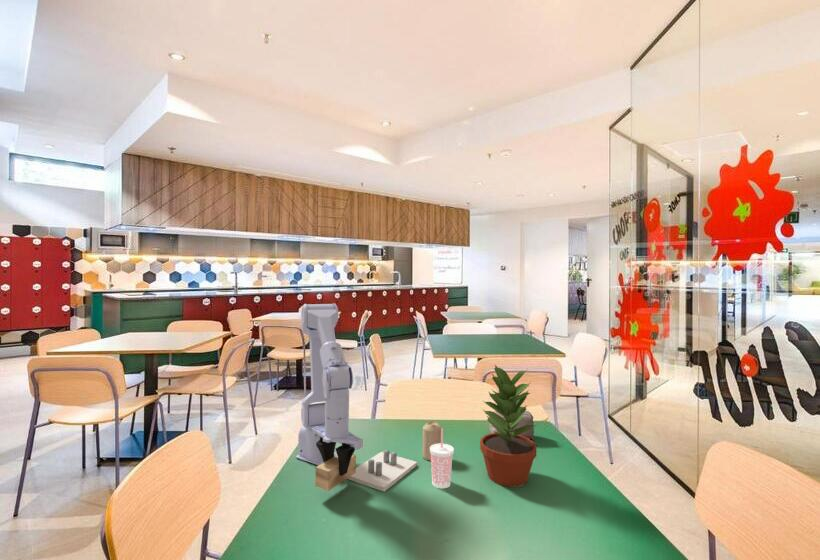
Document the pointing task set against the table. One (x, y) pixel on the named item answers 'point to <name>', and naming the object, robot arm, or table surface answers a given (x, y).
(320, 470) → the tan rectangular block
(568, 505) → the table surface
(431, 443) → the candle
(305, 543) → the table surface
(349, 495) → the table surface
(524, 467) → the potted plant
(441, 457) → the beverage cup
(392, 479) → the peg base
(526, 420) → the food item
